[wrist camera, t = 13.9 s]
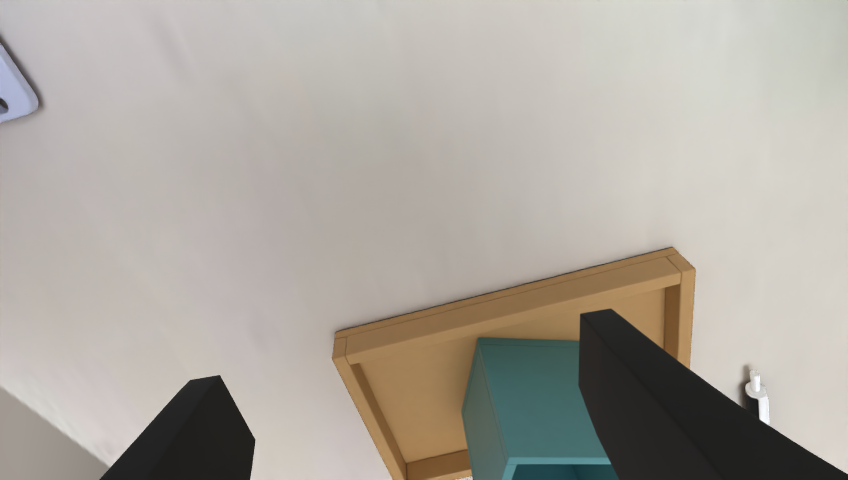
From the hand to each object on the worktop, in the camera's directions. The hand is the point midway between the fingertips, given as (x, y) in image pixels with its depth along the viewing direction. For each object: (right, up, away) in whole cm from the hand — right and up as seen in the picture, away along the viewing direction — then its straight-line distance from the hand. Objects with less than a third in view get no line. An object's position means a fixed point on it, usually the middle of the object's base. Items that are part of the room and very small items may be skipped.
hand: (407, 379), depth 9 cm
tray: (+5, -4, +13) cm, 15 cm away
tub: (+5, -4, +13) cm, 14 cm away
